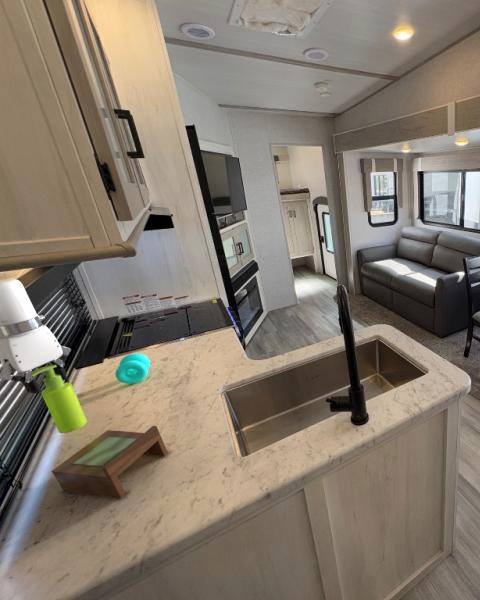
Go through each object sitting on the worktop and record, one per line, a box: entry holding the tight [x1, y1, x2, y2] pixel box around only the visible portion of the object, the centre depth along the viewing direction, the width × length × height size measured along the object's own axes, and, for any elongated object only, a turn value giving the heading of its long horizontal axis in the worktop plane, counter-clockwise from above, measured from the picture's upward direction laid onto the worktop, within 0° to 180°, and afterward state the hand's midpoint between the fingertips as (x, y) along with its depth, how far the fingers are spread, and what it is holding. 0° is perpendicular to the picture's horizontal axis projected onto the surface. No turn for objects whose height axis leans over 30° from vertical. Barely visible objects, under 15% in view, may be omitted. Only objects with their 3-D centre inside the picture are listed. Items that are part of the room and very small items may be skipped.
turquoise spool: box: [114, 353, 151, 385], centre depth 128 cm, size 10×10×10 cm
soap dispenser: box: [32, 364, 88, 434], centre depth 87 cm, size 6×7×20 cm
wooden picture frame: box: [51, 425, 169, 499], centre depth 84 cm, size 18×14×10 cm
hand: (49, 385), depth 85 cm, fingers closed on soap dispenser, 5 cm apart
